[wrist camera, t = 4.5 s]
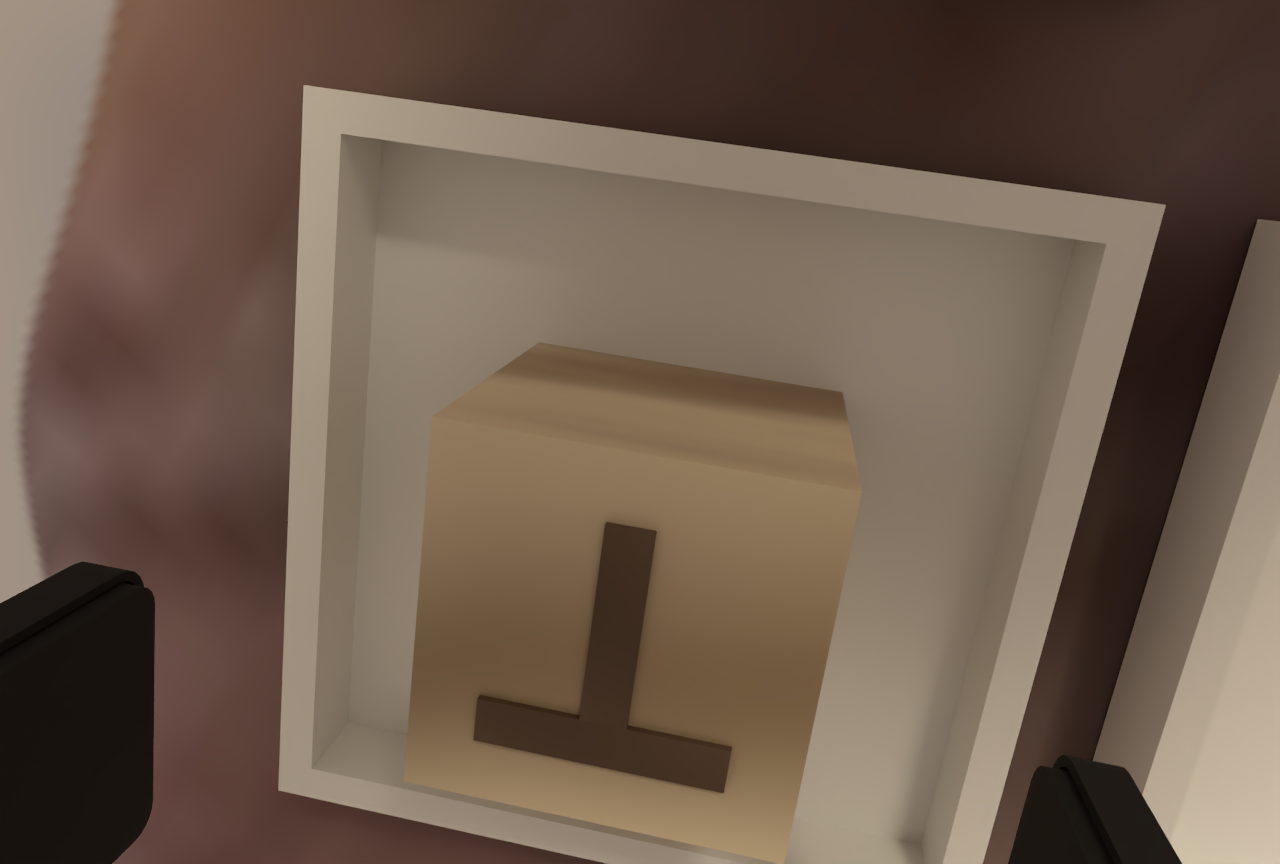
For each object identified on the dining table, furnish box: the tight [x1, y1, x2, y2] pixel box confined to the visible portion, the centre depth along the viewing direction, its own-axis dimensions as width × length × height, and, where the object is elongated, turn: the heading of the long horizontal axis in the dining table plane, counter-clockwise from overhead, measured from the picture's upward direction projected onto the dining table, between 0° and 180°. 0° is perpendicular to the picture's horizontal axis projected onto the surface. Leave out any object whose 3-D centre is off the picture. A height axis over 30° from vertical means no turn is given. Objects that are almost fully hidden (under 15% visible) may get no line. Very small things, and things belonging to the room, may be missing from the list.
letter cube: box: [404, 342, 862, 864], centre depth 14 cm, size 5×5×5 cm
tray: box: [278, 85, 1166, 864], centre depth 16 cm, size 12×12×2 cm
